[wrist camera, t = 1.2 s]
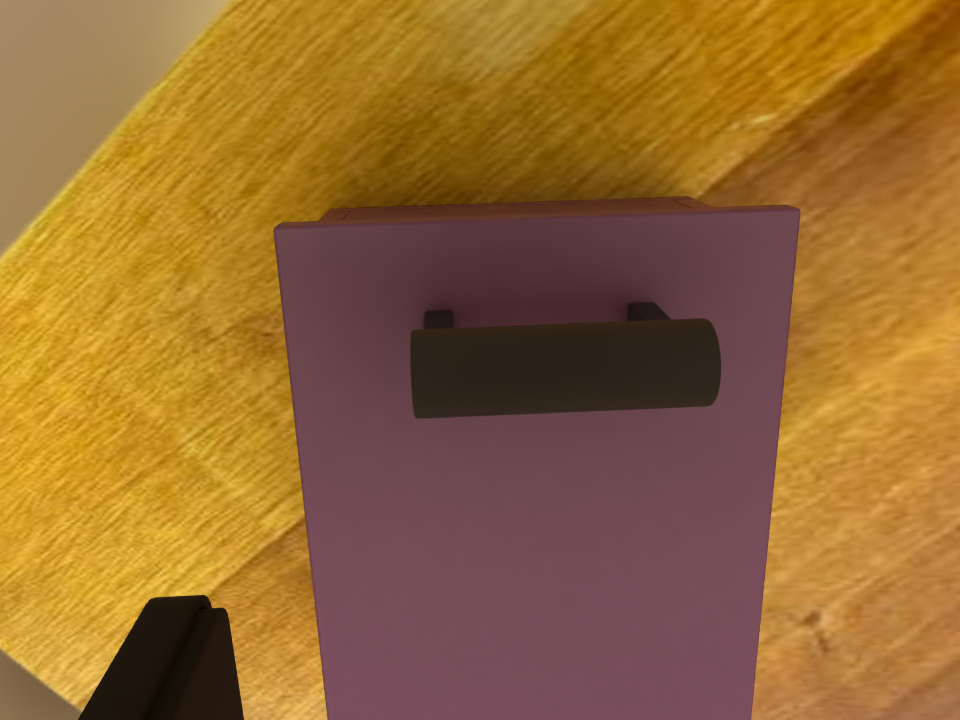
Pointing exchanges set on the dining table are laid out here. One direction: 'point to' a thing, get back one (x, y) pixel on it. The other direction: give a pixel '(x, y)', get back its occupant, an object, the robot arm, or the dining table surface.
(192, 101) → the dining table surface
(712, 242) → the lid
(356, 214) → the box
